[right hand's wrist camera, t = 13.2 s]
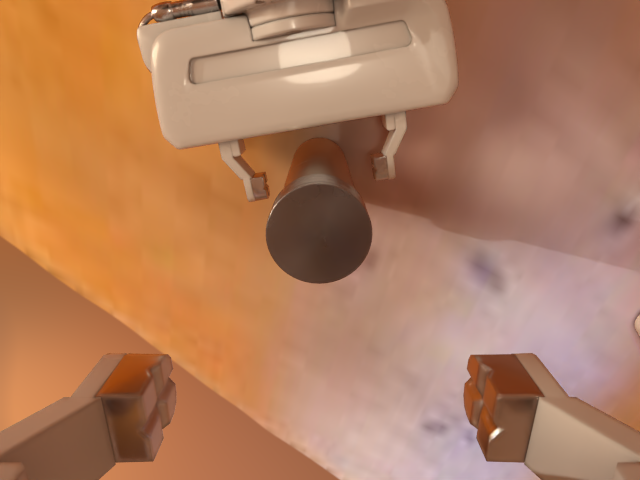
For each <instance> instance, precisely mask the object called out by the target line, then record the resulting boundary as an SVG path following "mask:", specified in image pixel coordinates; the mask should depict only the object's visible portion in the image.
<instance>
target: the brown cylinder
mask: <svg viewBox="0 0 640 480" xmlns="http://www.w3.org/2000/svg"><path fill="white" fill-rule="evenodd" d="M312 174H326V175H331V176H335V177H338V178H340V179H342V180H344V181H346V182H347V183H349V184H350V185H351V186H352V187H353V188H354V189H355V187H354V184H353V181H352V178H351V175H350V172H349V169H348V165H347V162H346V159H345V156H344V153H343V151H342V150H341V148H340V147H339V146H338V145H337V144H336V143H335V142H333V141H331V140H329V139H326V138H312V139H309V140H307V141H305V142H304V143H303V144H301V145H300V146H299V148H298V149H297V151H296V152H295V154H294V158H293V161H292V164H291V167H290V170H289V173H288V176H287V179H286V182H285V185H284V188H285V187H286V186H287V185H288V184H290V183H291V182H293V181H294V180H296V179H298V178H301V177H303V176H307V175H312ZM284 188H283V189H284Z"/></svg>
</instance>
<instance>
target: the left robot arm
mask: <svg viewBox="0 0 640 480" xmlns="http://www.w3.org/2000/svg"><path fill="white" fill-rule="evenodd" d="M221 11H222V12H221ZM189 16H190V17H189ZM182 17H185V18H182ZM177 18H180V19H177ZM152 19H154V20H155V21H156V22H159V23H154V24H148V23H149V21H151V20H152ZM147 24H148V25H147ZM137 39H138V43H139V47H140V50H141V54H142V57H143V60H144V63H145V65H146V67H147V69H148V70H149V71H150V72H151V73H152V82H153V90H154V97H155V103H156V108H157V113H158V118H159V122H160V127H161V130H162V134H163V136H164V138H165V139H166V140H167V141H168V142H169V143H171V144H172V145H173V146H174V147H176V148H177V149H187V148H193V147H199V146H204V145H210V144H216V143H218V144H219V148H220V152H221V156H222V160H223V161H224V162H225V163H226V164H227V165H228V166H229V167H230V168H231V169H232V170H233V171H234V172H235V174H236V175H237V176H238V177H239V178H240V179H241V180H243V181H244V186H245V190H246V194H247V198H248V201H249V202H252V201H257V200H263V199H268V198H269V196H270V190H269V186H268V185H267V184H266V182H267V176H266V172H261V173H255V172H254V171H253V170H252V168H251V167H250V166H249V165H248V164H247V163H246V161H245V160H244V159H243V158H242V157H241V154H242V153H243V152H244V151H245V150H246V149H245V145H244V140H243V139H245V138H251V137H257V136H263V135H269V134H275V133H281V132H286V131H292V130H298V129H304V128H310V127H316V126H321V125H327V124H333V123H339V122H345V121H351V120H357V119H362V118H368V117H374V116H380V115H382V122H383V127H384V128H386V129H387V130H388V131H389V134H388V136H387V139H386V141H385V143H384V146H383V148H382V151H381V153H375V154H371V162H372V164H373V166H374V167H373V169H372V170H373V176H374V179H375V181H381V180H388V179H394V178H395V177H396V173H395V164H394V155H395V154H396V152H397V150H398V147H399V145H400V143H401V141H402V138H403V136H404V134H405V132H406V130H407V121H406V111H409V110H415V109H421V108H427V107H433V106H438V105H444V104H447V103H448V102H449V101H450V100H451V98H452V97H453V95H454V93H455V92H456V90H457V88H458V83H459V78H458V63H457V54H456V46H455V39H454V33H453V28H452V23H451V18H450V13H449V9H448V6H447V3H446V1H445V0H180V1H176V2H171V1H166V2H161V3H158V4H155V5H153V6H152V7H151V12H149V13H148V14H146V15H145V16H144V17H143V18H142V20H141V22H140V24H139V26H138V29H137Z"/></svg>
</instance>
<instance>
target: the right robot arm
mask: <svg viewBox="0 0 640 480" xmlns="http://www.w3.org/2000/svg"><path fill="white" fill-rule="evenodd" d="M634 326H635V329H636V331H637V333H638V335H639V337H640V314H639V316H638V317H637V319H636V320H635V324H634ZM172 370H173V366H172V360H171V357H170V356H169V355H168V354H126V353H109V354H106V355H104V356H103V357H102V358H101V359H100V361H99V362H98V363H97V364H96V366H95V367H94V368H93V369H92V371H91V372H90V373H89V374H88V376H87V377H86V378H85V380H84V381H83V382H82V384H81V385H80V386H79V387H78V389H77V390H76V391H75V392H74V394H73V395H72V396H71V397H64V398H62V399H60V400H58V401H56V402H55V403H53V404H51V405H49V406H47V407H45V408H44V409H42V410H40V411H38V412H36V413H34V414H33V415H31V416H29V417H27V418H25V419H23V420H21V421H20V422H18V423H16V424H14V425H12V426H10V427H8V428H7V429H5V430H3V431H1V432H0V480H99V479H100V478H101V477H102V476H103V475H104V474H105V473H107V472H108V471H109V470H110V469H111V468H112V467H113V466H114V465H115V462H148V461H154V459H155V456H156V454H157V452H158V449H159V447H160V445H161V443H162V441H163V431H162V429H163V428H165V427H166V426H167V425H169V424H170V422H171V420H172V417H173V415H174V410H175V405H176V386H175V383H174V382H173V381H172V380H171V379H170V378H169V376H170V374H171V372H172ZM467 370H468V372H469V374H470V376H471V378H470V379H469V380H468V381H467V382H466V383H465V386H464V407H465V411H466V415H467V417H468V420H469V422H470V424H471V425H473V426H474V427H475V428H477V429H478V431H477V441H478V443H479V445H480V447H481V450H482V452H483V454H484V456H485V459H486V461H491V462H525V463H524V464H525V465H526V466H527V467H528V468H529V469H530V470H531V471H532V472H534V473H535V474H536V475H537V476H538V477H539V478H540V479H541V480H640V432H639V431H637V430H635V429H633V428H631V427H630V426H628V425H626V424H624V423H622V422H620V421H619V420H617V419H615V418H613V417H611V416H609V415H607V414H606V413H604V412H602V411H600V410H598V409H596V408H595V407H593V406H591V405H589V404H587V403H585V402H584V401H582V400H580V399H578V398H576V397H569V396H568V395H567V394H566V392H565V391H564V390H563V389H562V387H561V386H560V385H559V383H558V382H557V381H556V380H555V378H554V377H553V376H552V375H551V373H550V372H549V371H548V370H547V368H546V367H545V366H544V364H543V363H542V362H541V361H540V359H539V358H538V357H537V356H536V355H534V354H533V353H521V354H498V355H470V358H469V360H468V365H467Z"/></svg>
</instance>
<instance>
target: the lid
mask: <svg viewBox="0 0 640 480" xmlns="http://www.w3.org/2000/svg"><path fill="white" fill-rule="evenodd" d="M266 241H267V246H268V249H269V251H270V254H271V256H272V258H273V259H274V261H275V262H276V263H277V265H278V266H279V267H280V268H281V269H282V270H283V271H285V272H286V273H287V274H289V275H290V276H292V277H294V278H296V279H298V280H301V281H305V282H309V283H329V282H334V281H337V280H340V279H342V278H344V277H346V276H348V275H349V274H351V273H352V272H353V271H355V270H356V269H357V268H358V267H359V266H360V265H361V263H362V262H363V261H364V259H365V258H366V256H367V254H368V252H369V249H370V246H371V242H372V225H371V221H370V218H369V215H368V212H367V209H366V206H365V204H364V201H363V199H362V198H361V196H360V195H359V193H358V192H357V191H356V190H355V189H354V188H353V187H352V186H351V185H350V184H349V183H347V182H346V181H344V180H342V179H340V178H338V177H335V176H331V175H326V174H312V175H307V176H303V177H301V178H298V179H296V180H294V181H293V182H291V183H290V184H288V185H287V186H286V187H285V188H284V189H283V190H282V191H281V192H280V193H279V195H278V196H277V198H276V200H275V202H274V204H273V207H272V209H271V212H270V215H269V218H268V221H267V226H266Z"/></svg>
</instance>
